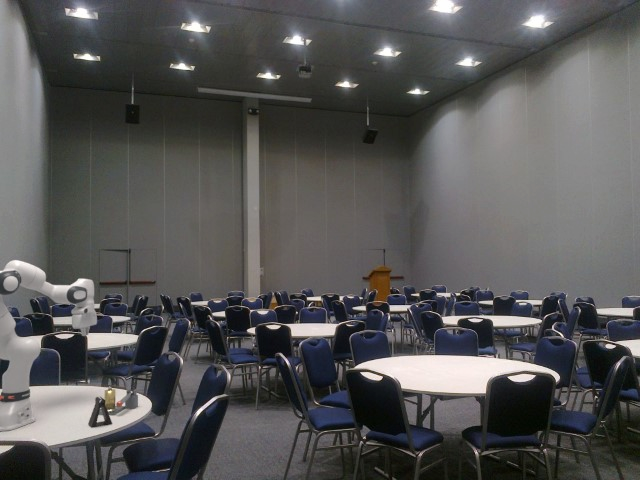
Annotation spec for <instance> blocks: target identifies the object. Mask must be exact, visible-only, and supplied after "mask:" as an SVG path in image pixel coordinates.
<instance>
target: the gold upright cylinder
mask: <svg viewBox="0 0 640 480" xmlns="http://www.w3.org/2000/svg"><path fill="white" fill-rule="evenodd" d="M107 388H108V389H105V390H104V400H105V406H106V408H107V410H113V409H115V406H116V389H114V388H112V386H108V387H107Z"/></svg>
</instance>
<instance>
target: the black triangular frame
mask: <svg viewBox="0 0 640 480" xmlns="http://www.w3.org/2000/svg"><path fill="white" fill-rule="evenodd" d="M94 400H95V401H94V402H95V403H94V406H93V409H92V412H91V416H90V417H89V419H88V426H89V427H91V429H92V428H98V427H103V426H109V425H113V422H112V419H111V417H110V416H111V415H109V414H108V411H107V408H106V406H105V398H103V397H102V396H99V397H98V396H96V397H95V399H94ZM100 409H101V410H102V413H103V415H102V417H103V420H102V421H98V419H99V416H100V415H99V412H100Z"/></svg>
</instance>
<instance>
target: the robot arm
mask: <svg viewBox="0 0 640 480" xmlns="http://www.w3.org/2000/svg"><path fill="white" fill-rule="evenodd" d="M46 279H47V275H46V273H45V271H44V270H42V269H41V268H40V267H38V266H36V265H33V264H31V263H28V262H26V261H22V260H18V259H15V260H14V259H13V260H10V261H9V262H8V263H6V265H5V266H4V268H3V270H0V359H1V360H3V361H9V363H8V368H7V370H6V371H4V373H3V374H2V377H1V378H2V379H1V384H2V385H1V387H2V389H1V392H0V432H5V431H6V432H7V431H13V430H15V429H18V428H22V427H23V426H26V425H29V424H31V423H33V422H36V418H35V417H34V411H33V410H34V409H33V402H32V401H31V400H30V397H31V389H30V372H31V369H32V366H33V363H34V361H35V360H36V359H37V358H38V357H39V356H40V353H41V344H40V343H39V341H37V340H35V339H33V338H31V337H25V336H23V337H22V336H18V335H17V333H16V330H15V328H16V325H17V323H16V321H15V318H14V317H13V315H12V314H11V312H10V311H9V309H8V307H7V306H6V304H5V303H4V299H3V296H9V295H12V294H14V293H15V292H17V291H18V289H19V288H20V287H22V288H25V289H29V290H32V291H35V292H37V293H39V294H41V295H43V296H45V297H47V298H48V300H49V301H50V302H51V303H53V304H54V305H62V304H63V305H75V306H74V308H72V309H71V313H70V314H72V316H71V327H72V328H73V330H77V329H78V330H79V329H80V332H81V336H82V337H85V336H89V333H90V332H89V331H90V328H91V326H96V325H97V324H98V317H97V312H96V309H95V300H94V298H95V284H94V283H95V282H94V280H92V279H90V278H86V277H85V278H84V277H80V278H78V279H77V280H76V281H75V282H72V284H70V285H69V284H52V283H50V282H49V281H48V282H47V281H46Z"/></svg>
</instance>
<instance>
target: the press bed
mask: <svg viewBox="0 0 640 480" xmlns="http://www.w3.org/2000/svg"><path fill="white" fill-rule="evenodd" d="M124 410H126V409H125V405H122V406H121V407H117V405H115V409H113V410H107V411H108V414H109V416H116V415H117V414H119V413H120V412H122V411H124ZM98 416H103V413H102V410H101V408H100V412H99V415H98Z"/></svg>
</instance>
